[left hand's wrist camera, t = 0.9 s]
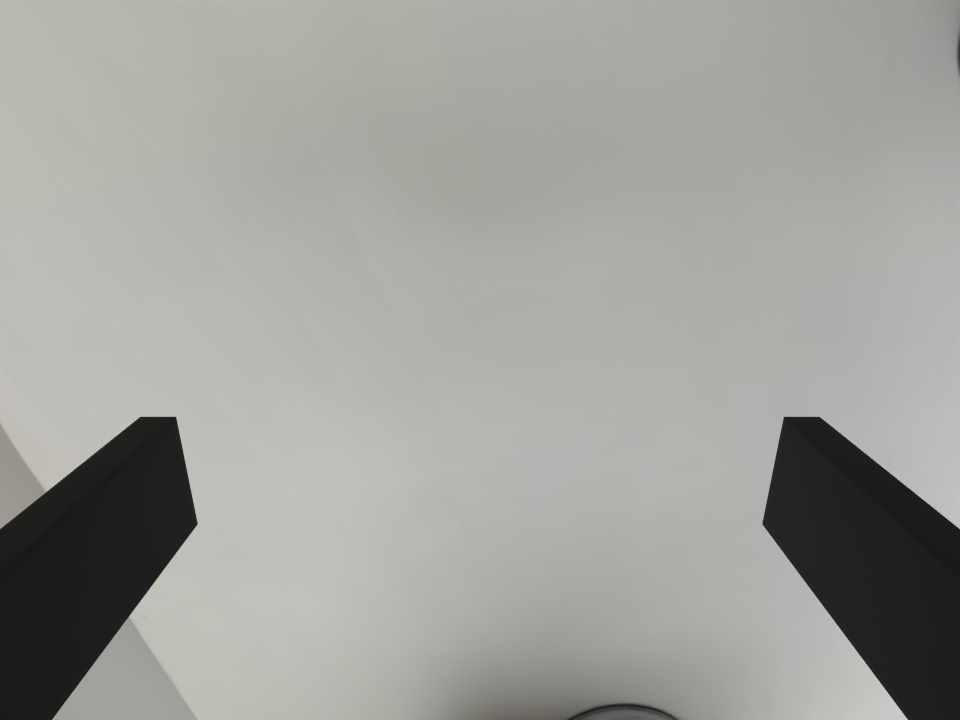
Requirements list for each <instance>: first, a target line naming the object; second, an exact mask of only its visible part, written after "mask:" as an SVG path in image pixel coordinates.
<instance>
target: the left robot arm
mask: <svg viewBox="0 0 960 720" xmlns="http://www.w3.org/2000/svg"><path fill="white" fill-rule="evenodd" d="M196 526H197V519H196V514H195V509H194V504H193V499H192V494H191V489H190V484H189V479H188V474H187V469H186V464H185V459H184V454H183V449H182V444H181V439H180V434H179V429H178V424H177V419H176V417H140V418H139V419H137V420H136V421H135V422H134V423H132V424H131V425H130V426H129V427H127V428H126V429H125V430H124V431H122V432H121V433H120V434H119V435H117V436H116V437H115V438H114V439H112V440H111V441H110V442H109V443H107V444H106V445H105V446H104V447H102V448H101V449H100V450H99V451H97V452H96V453H95V454H94V455H92V456H91V457H90V458H89V459H87V460H86V461H85V462H84V463H82V464H81V465H80V466H79V467H77V468H76V469H75V470H74V471H72V472H71V473H70V474H69V475H67V476H66V477H65V478H64V479H62V480H61V481H60V482H59V483H57V484H56V485H55V486H54V487H52V488H51V489H50V490H49V491H47V492H46V493H45V494H44V495H42V496H41V497H40V498H39V499H37V500H36V501H35V502H34V503H33V504H31V505H30V506H29V507H27V508H26V509H25V510H24V511H22V512H21V513H20V514H19V515H17V516H16V517H15V518H14V519H12V520H11V521H10V522H9V523H7V524H6V525H5V526H4V527H2V528H1V529H0V720H52V719H53V718H54V716H55V715H56V714H57V712H58V711H59V710H60V708H61V707H62V706H63V704H64V703H65V701H66V700H67V699H68V697H69V696H70V695H71V693H72V692H73V691H74V689H75V688H76V687H77V685H78V684H79V683H80V681H81V680H82V679H83V677H84V676H85V675H86V673H87V672H88V671H89V669H90V668H91V667H92V665H93V664H94V663H95V661H96V660H97V658H98V657H99V656H100V654H101V653H102V652H103V650H104V649H105V648H106V646H107V645H108V644H109V642H110V641H111V640H112V638H113V637H114V636H115V634H116V633H117V632H118V630H119V629H120V628H121V626H122V625H123V624H124V622H125V621H126V620H127V618H128V617H129V616H130V614H131V613H132V612H133V610H134V609H135V608H136V606H137V605H138V603H139V602H140V601H141V599H142V598H143V597H144V595H145V594H146V593H147V591H148V590H149V589H150V587H151V586H152V585H153V583H154V582H155V581H156V579H157V578H158V577H159V575H160V574H161V573H162V571H163V570H164V569H165V567H166V566H167V565H168V563H169V562H170V561H171V559H172V558H173V556H174V555H175V554H176V552H177V551H178V550H179V548H180V547H181V546H182V544H183V543H184V542H185V540H186V539H187V538H188V536H189V535H190V534H191V532H192V531H193V530H194V528H195V527H196ZM763 526H764V527H765V528H766V530H767V531H768V532H769V534H770V535H771V536H772V538H773V539H774V540H775V542H776V543H777V544H778V546H779V547H780V548H781V550H782V551H783V552H784V554H785V555H786V556H787V558H788V559H789V561H790V562H791V563H792V565H793V566H794V567H795V569H796V570H797V571H798V573H799V574H800V575H801V577H802V578H803V579H804V581H805V582H806V583H807V585H808V586H809V587H810V589H811V590H812V591H813V593H814V594H815V595H816V597H817V598H818V599H819V601H820V602H821V603H822V605H823V606H824V608H825V609H826V610H827V612H828V613H829V614H830V616H831V617H832V618H833V620H834V621H835V622H836V624H837V625H838V626H839V628H840V629H841V630H842V632H843V633H844V634H845V636H846V637H847V638H848V640H849V641H850V642H851V644H852V645H853V646H854V648H855V649H856V650H857V652H858V653H859V654H860V656H861V657H862V659H863V660H864V661H865V663H866V664H867V665H868V667H869V668H870V669H871V671H872V672H873V673H874V675H875V676H876V677H877V679H878V680H879V681H880V683H881V684H882V685H883V687H884V688H885V689H886V691H887V692H888V693H889V695H890V696H891V697H892V699H893V700H894V701H895V703H896V704H897V706H898V707H899V708H900V710H901V711H902V712H903V714H904V715H905V716H906V718H907V719H908V720H960V529H959V528H958V527H956V526H955V525H954V524H953V523H951V522H950V521H949V520H948V519H946V518H945V517H944V516H943V515H941V514H940V513H939V512H938V511H936V510H935V509H934V508H933V507H931V506H930V505H929V504H928V503H926V502H925V501H924V500H923V499H921V498H920V497H919V496H918V495H916V494H915V493H914V492H913V491H911V490H910V489H909V488H908V487H906V486H905V485H904V484H903V483H901V482H900V481H899V480H898V479H896V478H895V477H894V476H893V475H891V474H890V473H889V472H888V471H886V470H885V469H884V468H883V467H881V466H880V465H879V464H878V463H876V462H875V461H874V460H873V459H871V458H870V457H869V456H868V455H866V454H865V453H864V452H863V451H861V450H860V449H859V448H858V447H856V446H855V445H854V444H853V443H851V442H850V441H849V440H848V439H846V438H845V437H844V436H843V435H841V434H840V433H839V432H838V431H836V430H835V429H834V428H833V427H831V426H830V425H829V424H828V423H826V422H825V421H824V420H823V419H821V418H820V417H784V419H783V424H782V429H781V434H780V439H779V444H778V449H777V454H776V459H775V464H774V469H773V474H772V479H771V484H770V489H769V494H768V499H767V504H766V509H765V514H764V519H763ZM572 720H675V719H673V718H672V717H670V716H668V715H666V714H664V713H661V712H658V711H655V710H651V709H647V708H642V707H633V706H617V707H608V708H603V709H598V710H594V711H591V712H588V713H585V714H583V715H580V716H578V717H576V718H574V719H572Z"/></svg>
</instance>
